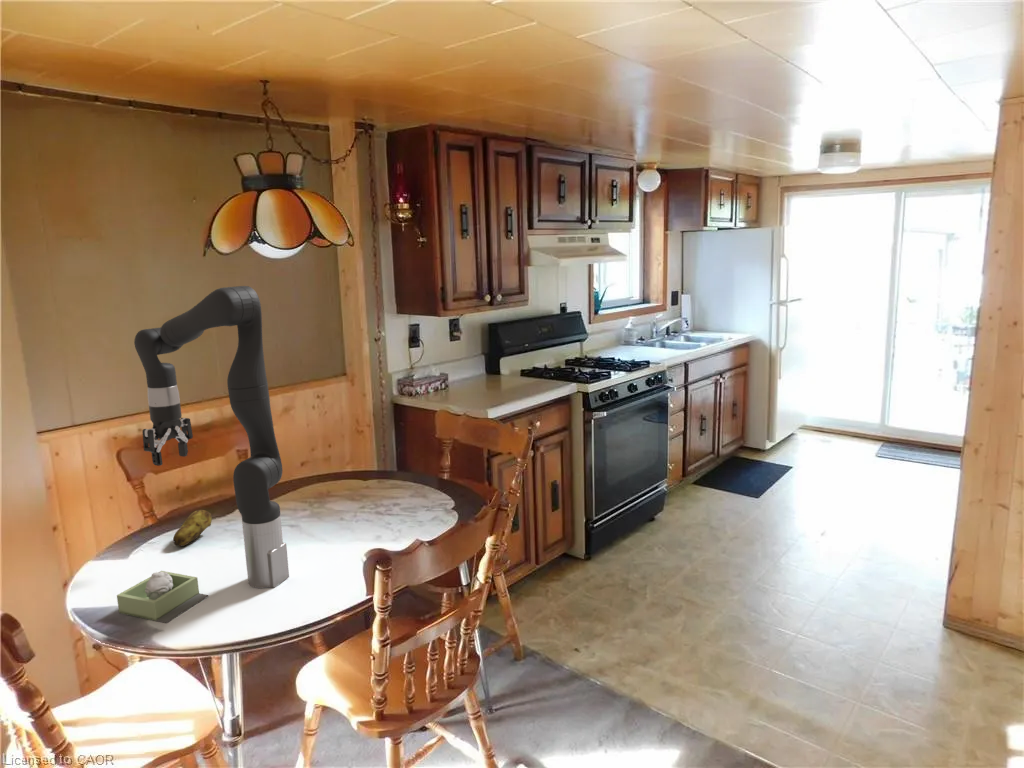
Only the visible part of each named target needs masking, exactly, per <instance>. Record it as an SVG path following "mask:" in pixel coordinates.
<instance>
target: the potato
mask: <svg viewBox="0 0 1024 768" xmlns="http://www.w3.org/2000/svg"><path fill="white" fill-rule="evenodd" d="M212 516H213V515H212V513H211V512H210V511H208V510H204V509H197V510H195V511H193V512H191V513H190V514H189V516H188V517H187V518H186V519H185V520H184V522H183V523H182V524H181V526H180V527H179V528H178V529H177V531H176V532H175V534H174V535H173V537H172V538H173V544H174V545H175V546H177V547H184V546H187V545H188V544H189V543H191V542H193V541H195V540H196V539H197V538H199V536H200V535H201V534H202V533H203V532H204V531H205V530H206V529H207V528H208V527H211V526H212V520H213V519H212V518H213V517H212Z"/></svg>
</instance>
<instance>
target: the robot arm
mask: <svg viewBox="0 0 1024 768" xmlns="http://www.w3.org/2000/svg"><path fill="white" fill-rule="evenodd" d="M261 305H262V304H261V301H260V297H259V295H258V293H257V291H256V290H255V289H253V287H251V286H249V285H238V286H228V287H220V288H217V289H215V290H212V291H211V292H210V293H209V294H208V295H206V296H205V297H204V298H203V299H202V300H201V301H199V302H198V303H197V304H196V305H194V306H193V307H192V308H190V309H189V310H186V311H185V312H184V313H181V314H178V315H177V316H175V317H173V318H171V319H169V320H167V321H166V322H164V323H163V324H162V325H161V327H154V328H144V329H140V330H139V331H137V333H136V335H135V337H134V341H133V342H134V348H135V350H136V353H137V355H138V358H139V360H140V362H141V364H142V367H143V369H144V372H145V377H146V385H147V402H148V403H147V404H148V411H149V418H150V421H151V422H152V428H143V429H142V442H143V444H142V445H143V452H148V453H149V452H150V453H151V459H152V464H153V465H155V466H158V467H160V466H163V457H162V451H161V450H162V448H163V446H164V445H165V444H166V442H167V441H170V440H172V439H175V440H176V441H177V442H178V443H177V446H178V447H177V448H178V454H179V456H180V457H184V458H186V457H188V453H189V450H188V449H189V448H188V442H189V440H191V439H193V438H194V434H193V429H192V422H191V419H190V418H188V417H182V408H181V400H180V397H181V396H180V390H179V388H178V382H177V372H176V368H175V365H174V364H172V363H171V362H162V361H161V360H160V359H159V357H158V356H159V355H166V354H171V353H174V352H176V351H178V350H180V349H181V348H182V347H183V346H184V345H186V344H188V343H190V342H192V341H195V340H196V339H198V338H199V337H201V336H202V335H203V334H204V332H205V331H206V330H209V329H212V328H213V329H214V328H218V327H219V328H220V327H233V326H235V327H236V326H237V337H238V341H237V349H236V353H235V355H234V358H233V361H232V363H231V365H230V369H229V371H228V373H227V391H228V398H229V404H230V408H231V410H232V412H233V414H234V415H235V417H236V419H237V420H238V421H239V423H240V424H241V426H242V427H243V428H244V430H245V432H246V434H247V437H248V443H249V449H250V450H249V452H250V457H248V458H246V459H245V460H242V461H241V462H239V463H237V465H236V466H235V468H234V470H233V478H232V479H233V480H232V481H233V489H234V494H235V495H234V496H235V502H236V506H237V509H238V512H239V514H240V515H241V522H242V532H243V533H242V534H243V542H244V544H243V545H244V553H245V555H244V556H245V561H246V562H245V563H246V564H245V565H246V572H247V574H246V575H247V582H248V583H247V584H248V585H249V586H250V587H252V588H257V589H265V588H276V587H277V586H278V585H280V584H281V583H282V582H284V581H286V580H287V579H288V578H290V572H289V571H290V570H289V560H288V558H289V557H288V548H287V543H286V542H284V540H283V539H284V538H283V529H282V517H281V516H282V515H281V508H280V505H279V503H278V502H276V501H272V500H271V499H270V494H269V489H271V488H273V487H274V486H276V485H277V484H279V482H280V480H281V479H282V476H283V463H282V458H281V454H280V451H279V447H278V442H277V439H276V436H275V435H276V434H275V429H274V421H273V416H272V410H271V408H272V407H271V400H270V392H269V391H270V390H269V382H268V378H267V372H266V364H265V356H264V355H265V354H264V345H263V320H262V319H263V317H262V315H263V313H262V306H261Z"/></svg>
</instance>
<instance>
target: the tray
mask: <svg viewBox="0 0 1024 768" xmlns="http://www.w3.org/2000/svg"><path fill="white" fill-rule="evenodd" d="M159 572H167V573H168V574H169V575H170V576H171V577H172V580H173V587H172V590H171V591H169V592H167V593H166V594H164V595H162V596H161V597H159V598H157V599H156V600H151V599H149V598H148V597H147V594H146V593H145V588H146V585H147V582H148V581H149V579H150V578H151V577H152V575H151V576H149V577H147V578H146V579H144V580H142V581H140V582H138V583H136V584H135V585H133V586H130V587H129V588H128V589H125V590H124V591H122V592H120V593H118V594H117V595H116V601H117V605H118V607H117V609H118V613H119V614H120V615H121V614H122V615H127V616H131V617H136V618H140V619H144V620H149V621H153V622H158V623H164V624H168V623H169V622H171V621H172V620H174V619H176V618H177V617H178V616H180V615H181V614H183V613H184V612H186V611H188V610H190V609H191V608H193V607H194V606H196V605H197V604H199V603H201V602H202V601H204V600H205V599H207V598H208V597H209V594H206V593H200V591H199V590H200V589H199V581H198V577H197V576H192V575H187V574H181V573H175V572H171V571H170V572H169V571H165V570H160V571H159Z"/></svg>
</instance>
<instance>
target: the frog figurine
mask: <svg viewBox="0 0 1024 768" xmlns="http://www.w3.org/2000/svg"><path fill="white" fill-rule="evenodd" d="M167 572H168V571H166V572H160V571H158V572H157V571H156V572H153V573H151V576H152V577H151V576H150V577H151V578H150V579H149V581H148V582H147V585H146V588H145V593H146V594H147V597H148V598H149V599H151V600H156V599H157V598H159V597H161V596H162V595H164V594H166V593H167V592H169V591H171V590H172V587H173V580H172V577H171V576H170V575H169V574H168V573H167Z"/></svg>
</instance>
